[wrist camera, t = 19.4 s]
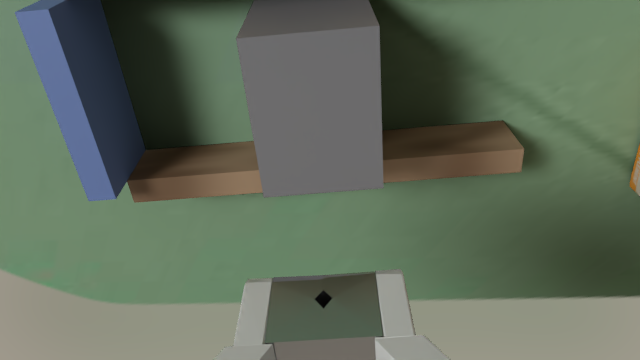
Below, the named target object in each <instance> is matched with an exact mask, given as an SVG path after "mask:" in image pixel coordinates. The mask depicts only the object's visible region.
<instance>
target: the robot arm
mask: <svg viewBox="0 0 640 360" xmlns="http://www.w3.org/2000/svg"><path fill="white" fill-rule="evenodd" d="M213 360H450V359H449V358H448V357H447V356H446V355H445V354H444V353H443V352H442V351H440V350H439V349H438V348H437V347H436V346H435V345H434V344H433V343H432V342H431V341H430V340H429V339H428V338H426V336H424V335H416V334H415V329H414V324H413V319H412V314H411V309H410V305H409V300H408V295H407V290H406V285H405V280H404V275H403V272H402V271H401V269H395V270H382V271H375V272H360V273H347V274H333V275H320V276H296V277H274V278H262V279H248V280H247V282H246V283H245V286H244V291H243V296H242V302H241V308H240V313H239V318H238V323H237V329H236V334H235V340H234V345H233V346H229V347H225V348H224V349H223V350H222V351H221V352H220V353H219V354H218V355H217V356H216V357H215V358H214V359H213Z"/></svg>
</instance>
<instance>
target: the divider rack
mask: <svg viewBox="0 0 640 360" xmlns="http://www.w3.org/2000/svg"><path fill="white" fill-rule="evenodd" d="M15 14H16V17H17V19H18V22H19V25H20V27H21V30H22V32H23V35H24V37H25V40H26V42H27V45H28V47H29V50H30V53H31V55H32V58H33V60H34V63H35V65H36V68H37V70H38V73H39V75H40V78H41V81H42V83H43V86H44V88H45V91H46V93H47V96H48V98H49V101H50V103H51V106H52V109H53V111H54V114H55V116H56V119H57V121H58V124H59V126H60V129H61V131H62V134H63V137H64V139H65V142H66V144H67V147H68V149H69V152H70V154H71V157H72V159H73V162H74V165H75V167H76V170H77V172H78V175H79V177H80V180H81V182H82V185H83V187H84V190H85V193H86V195H87V198H88V200H89V201H96V200H109V199H116V198H117V196H118V195H119V193H120V192H121V190H122V188H123V187H124V185H125V183H126V182H128V185H129V188H130V191H131V194H132V197H133V200H134V202H147V201H160V200H172V199H185V198H198V197H210V196H223V195H236V194H248V193H261V192H263V191H262V185H261V179H260V173H259V168H258V162H257V156H256V150H255V145H254V141H249V142H237V143H225V144H213V145H201V146H189V147H177V148H165V149H152V150H146V149H145V146H144V143H143V139H142V136H141V133H140V129H139V126H138V123H137V120H136V116H135V113H134V110H133V106H132V103H131V100H130V96H129V93H128V90H127V87H126V83H125V80H124V77H123V73H122V70H121V67H120V63H119V60H118V57H117V53H116V50H115V47H114V44H113V40H112V37H111V34H110V30H109V27H108V24H107V20H106V17H105V14H104V11H103V7H102V4H101V1H100V0H40V1H38V2H36V3H34V4H32V5H29V6H27V7H25V8H23V9H21V10H19V11H17V12H15ZM382 148H383V183H388V182H401V181H413V180H426V179H439V178H452V177H464V176H477V175H490V174H502V173H515V172H521V169H522V162H523V155H524V148H523V146H522V145H521V144H520V143H519V141H518V140H517V139H516V137H515V136H514V135H513V133H512V132H511V131H510V129H509V128H508V127H507V125H506V124H505V123H504V121H491V122H479V123H467V124H455V125H443V126H431V127H419V128H406V129H394V130H382Z"/></svg>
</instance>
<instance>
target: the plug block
mask: <svg viewBox="0 0 640 360" xmlns="http://www.w3.org/2000/svg"><path fill="white" fill-rule="evenodd" d="M236 41H237V46H238V52H239V58H240V64H241V70H242V75H243V81H244V87H245V93H246V98H247V104H248V110H249V116H250V121H251V127H252V133H253V139H254V145H255V150H256V156H257V162H258V168H259V173H260V179H261V185H262V191H263V196H264V197H276V196H289V195H301V194H314V193H327V192H340V191H353V190H365V189H378V188H383V148H382V108H381V67H380V26H379V23H378V21H377V19H376V16H375V14H374V12H373V9H372V7H371V5H370V2H369V0H254V1H253V4H252V6H251V8H250V10H249V12H248V14H247V16H246V19H245V21H244V23H243V25H242V27H241V29H240V31H239V33H238V36H237V38H236Z"/></svg>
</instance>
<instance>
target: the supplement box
mask: <svg viewBox="0 0 640 360" xmlns="http://www.w3.org/2000/svg"><path fill="white" fill-rule="evenodd" d="M630 187H631V188H632V189H633V190H634V191H635V192H636V193H637V194H638V195H639V196H640V145H639V148H638V152H637V156H636V160H635V163H634V166H633V171H632V175H631V180H630Z"/></svg>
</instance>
